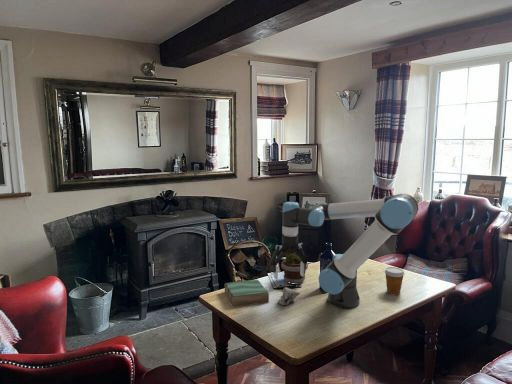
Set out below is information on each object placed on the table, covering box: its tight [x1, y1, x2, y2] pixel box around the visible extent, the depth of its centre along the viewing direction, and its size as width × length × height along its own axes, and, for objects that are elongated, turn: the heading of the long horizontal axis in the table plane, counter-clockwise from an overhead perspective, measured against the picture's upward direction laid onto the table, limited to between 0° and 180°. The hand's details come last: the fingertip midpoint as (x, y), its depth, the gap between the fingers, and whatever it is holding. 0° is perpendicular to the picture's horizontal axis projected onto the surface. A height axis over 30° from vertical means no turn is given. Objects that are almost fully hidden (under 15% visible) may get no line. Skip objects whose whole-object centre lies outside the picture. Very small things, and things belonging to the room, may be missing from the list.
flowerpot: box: [280, 253, 309, 285], centre depth 208 cm, size 14×15×20 cm
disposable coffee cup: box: [384, 266, 405, 296], centre depth 194 cm, size 10×10×12 cm
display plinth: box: [224, 278, 270, 308], centre depth 189 cm, size 18×18×5 cm
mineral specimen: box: [278, 287, 301, 306], centre depth 183 cm, size 10×8×10 cm
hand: (289, 277), depth 183 cm, fingers open, 13 cm apart
